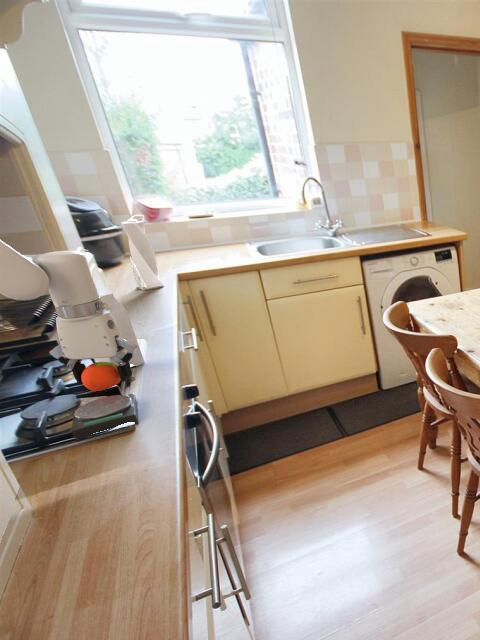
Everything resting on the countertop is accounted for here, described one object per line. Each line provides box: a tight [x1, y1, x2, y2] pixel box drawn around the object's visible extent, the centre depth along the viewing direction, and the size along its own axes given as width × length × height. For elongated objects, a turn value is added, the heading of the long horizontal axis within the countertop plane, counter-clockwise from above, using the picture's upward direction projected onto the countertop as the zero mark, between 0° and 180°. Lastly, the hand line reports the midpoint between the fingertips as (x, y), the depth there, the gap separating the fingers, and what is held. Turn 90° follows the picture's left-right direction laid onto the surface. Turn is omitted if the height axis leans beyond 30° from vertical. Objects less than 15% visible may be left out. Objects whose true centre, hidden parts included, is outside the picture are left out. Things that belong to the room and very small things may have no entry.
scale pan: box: [73, 394, 132, 421], centre depth 97 cm, size 9×9×1 cm
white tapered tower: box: [120, 213, 165, 292], centre depth 180 cm, size 8×8×28 cm
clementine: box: [81, 362, 121, 392], centre depth 107 cm, size 8×7×7 cm
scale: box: [70, 392, 140, 439], centre depth 97 cm, size 11×10×3 cm
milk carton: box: [93, 292, 146, 367], centre depth 117 cm, size 7×7×19 cm
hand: (105, 380), depth 108 cm, fingers closed on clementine, 8 cm apart
